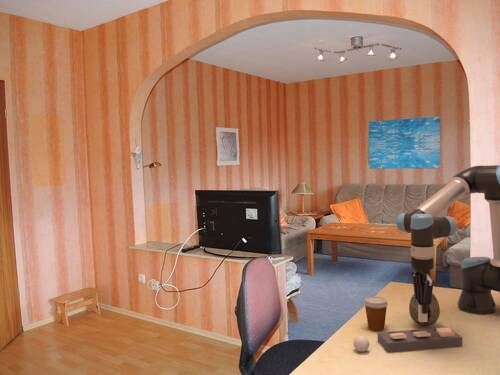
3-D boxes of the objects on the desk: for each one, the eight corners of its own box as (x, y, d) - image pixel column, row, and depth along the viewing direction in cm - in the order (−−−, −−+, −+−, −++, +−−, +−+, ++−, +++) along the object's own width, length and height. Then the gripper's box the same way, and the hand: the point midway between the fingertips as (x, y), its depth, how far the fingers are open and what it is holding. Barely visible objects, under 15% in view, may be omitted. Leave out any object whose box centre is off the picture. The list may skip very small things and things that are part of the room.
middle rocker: (425, 333, 164) (425, 330, 164) (430, 335, 160) (430, 332, 160) (412, 334, 164) (412, 331, 164) (417, 337, 160) (417, 333, 160)
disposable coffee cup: (389, 333, 175) (389, 304, 174) (365, 332, 177) (364, 303, 176) (387, 324, 184) (386, 296, 184) (363, 323, 186) (363, 295, 185)
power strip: (448, 335, 171) (447, 326, 170) (462, 346, 161) (462, 336, 160) (377, 341, 168) (377, 332, 168) (387, 352, 159) (387, 342, 158)
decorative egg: (407, 320, 188) (406, 285, 187) (436, 320, 186) (435, 285, 185) (412, 330, 177) (411, 294, 176) (443, 331, 174) (442, 294, 173)
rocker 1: (402, 335, 163) (402, 332, 164) (406, 337, 160) (406, 334, 160) (389, 336, 163) (388, 333, 163) (393, 338, 159) (393, 335, 159)
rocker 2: (448, 329, 165) (448, 327, 165) (454, 336, 161) (454, 333, 161) (435, 330, 165) (436, 328, 164) (441, 337, 161) (441, 334, 160)
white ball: (366, 355, 157) (366, 340, 157) (351, 352, 160) (351, 337, 160) (373, 347, 164) (372, 332, 163) (358, 344, 167) (357, 329, 166)
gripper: (404, 253, 165) (405, 315, 166) (420, 261, 152) (421, 328, 153) (423, 252, 165) (424, 314, 167) (441, 260, 152) (442, 327, 154)
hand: (422, 321), depth 160 cm, fingers closed
